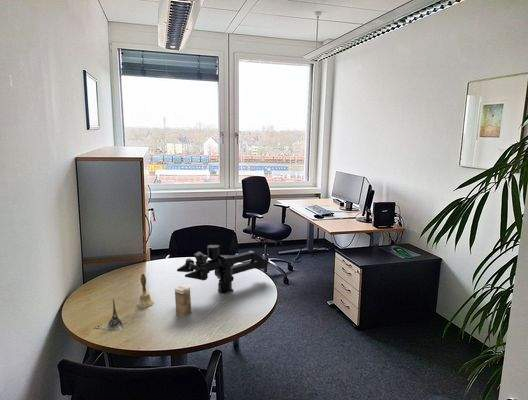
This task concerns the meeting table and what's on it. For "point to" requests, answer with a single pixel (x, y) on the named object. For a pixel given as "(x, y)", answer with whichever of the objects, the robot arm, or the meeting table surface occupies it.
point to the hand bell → (144, 295)
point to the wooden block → (183, 300)
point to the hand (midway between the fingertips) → (181, 273)
